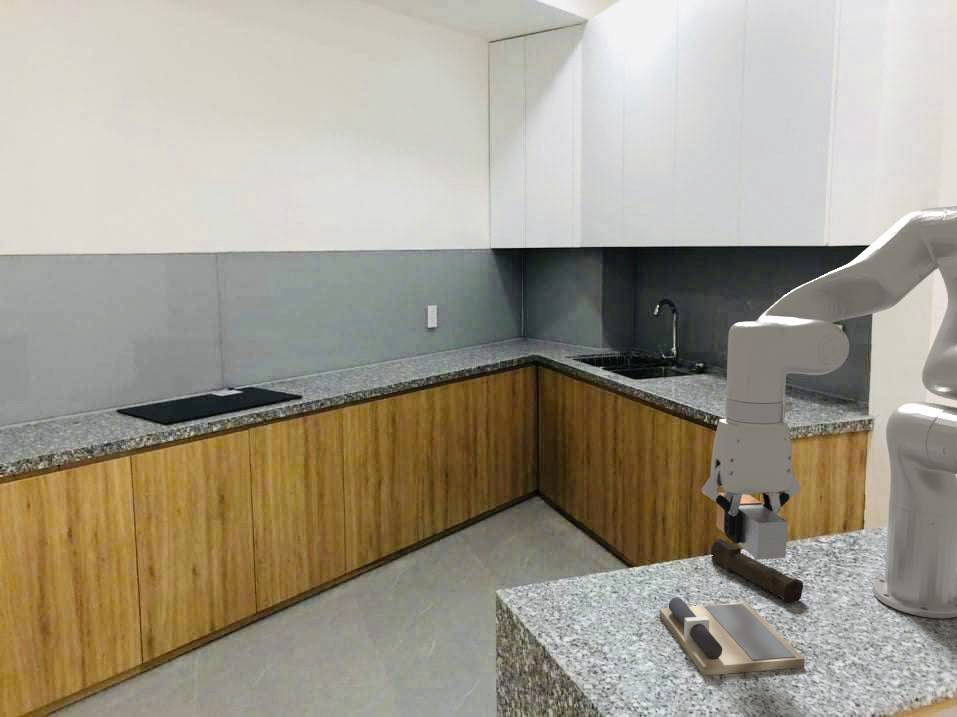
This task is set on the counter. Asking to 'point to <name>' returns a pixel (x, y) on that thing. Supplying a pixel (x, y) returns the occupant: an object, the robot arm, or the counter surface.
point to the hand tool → (756, 571)
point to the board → (736, 640)
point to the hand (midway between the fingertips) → (749, 537)
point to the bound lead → (695, 628)
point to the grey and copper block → (758, 529)
